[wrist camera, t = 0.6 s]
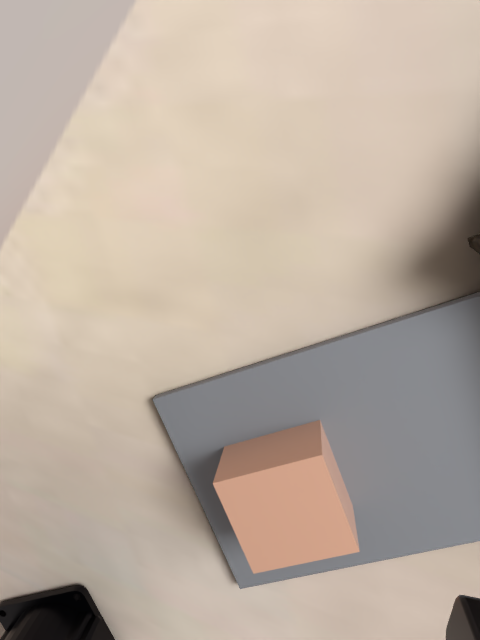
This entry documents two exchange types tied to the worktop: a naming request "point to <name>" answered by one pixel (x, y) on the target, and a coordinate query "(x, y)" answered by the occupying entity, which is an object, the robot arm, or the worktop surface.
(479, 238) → the hand tool
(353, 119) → the worktop surface
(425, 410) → the slate mat
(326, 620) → the worktop surface
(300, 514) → the salmon brown block
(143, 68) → the worktop surface
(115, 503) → the worktop surface
